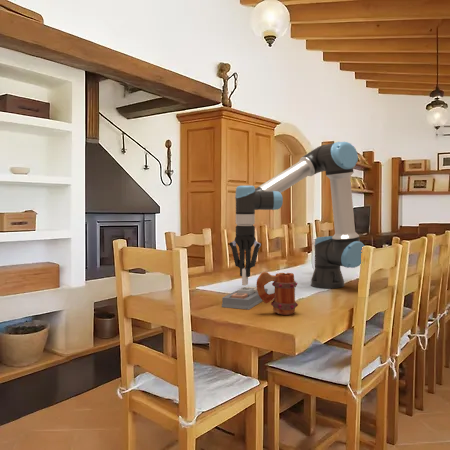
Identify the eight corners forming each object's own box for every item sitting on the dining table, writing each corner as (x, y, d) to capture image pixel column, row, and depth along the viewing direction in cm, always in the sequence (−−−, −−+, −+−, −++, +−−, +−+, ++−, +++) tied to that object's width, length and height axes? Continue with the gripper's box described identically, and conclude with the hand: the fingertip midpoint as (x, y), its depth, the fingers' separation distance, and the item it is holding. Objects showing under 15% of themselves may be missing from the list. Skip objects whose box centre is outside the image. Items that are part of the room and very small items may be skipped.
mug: (295, 310, 166) (295, 269, 166) (300, 316, 158) (300, 273, 157) (255, 311, 166) (255, 270, 165) (257, 317, 158) (257, 273, 157)
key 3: (247, 300, 176) (247, 293, 176) (243, 302, 172) (243, 295, 171) (236, 299, 178) (236, 292, 178) (231, 301, 174) (231, 294, 173)
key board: (267, 297, 189) (267, 288, 188) (248, 309, 168) (248, 299, 168) (243, 295, 193) (243, 287, 193) (221, 307, 173) (221, 297, 173)
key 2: (253, 294, 182) (253, 288, 182) (249, 297, 177) (249, 290, 177) (242, 293, 184) (242, 287, 184) (237, 296, 179) (237, 289, 179)
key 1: (259, 293, 188) (259, 287, 188) (255, 296, 183) (255, 289, 183) (248, 292, 190) (248, 286, 190) (244, 295, 185) (243, 288, 185)
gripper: (264, 225, 180) (263, 284, 181) (233, 224, 185) (233, 282, 186) (257, 225, 173) (257, 287, 174) (226, 225, 178) (226, 285, 179)
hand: (245, 284), depth 180 cm, fingers closed
